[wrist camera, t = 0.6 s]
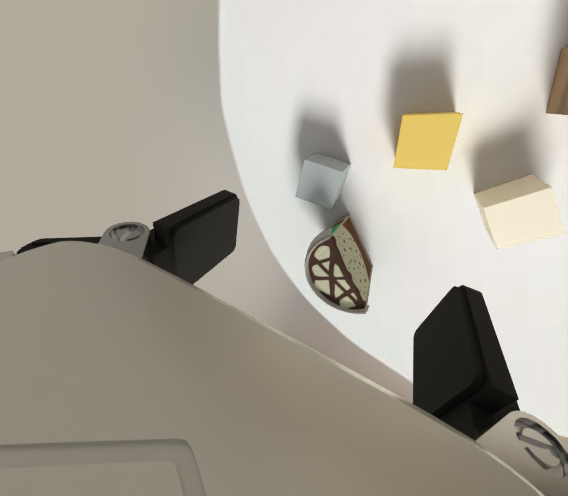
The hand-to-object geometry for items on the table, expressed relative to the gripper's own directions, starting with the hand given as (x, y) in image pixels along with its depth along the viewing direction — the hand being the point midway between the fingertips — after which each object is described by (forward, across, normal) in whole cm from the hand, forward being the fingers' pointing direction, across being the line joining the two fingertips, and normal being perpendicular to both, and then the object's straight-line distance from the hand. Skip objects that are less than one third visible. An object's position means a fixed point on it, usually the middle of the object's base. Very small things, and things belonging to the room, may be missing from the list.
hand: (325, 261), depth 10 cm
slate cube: (+26, +6, +4) cm, 27 cm away
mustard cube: (+26, -3, -3) cm, 26 cm away
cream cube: (+26, -15, +1) cm, 30 cm away
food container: (+26, 0, +14) cm, 30 cm away
